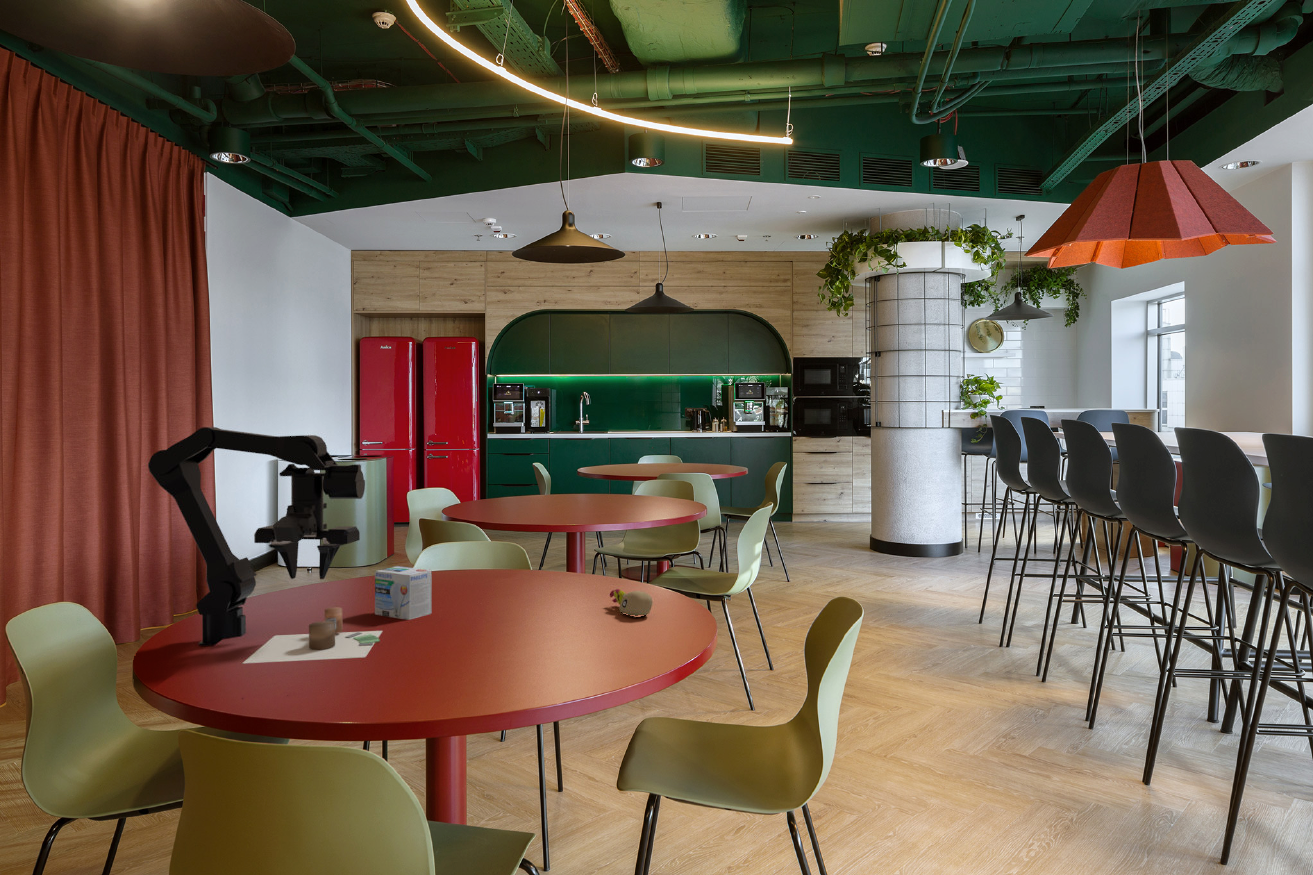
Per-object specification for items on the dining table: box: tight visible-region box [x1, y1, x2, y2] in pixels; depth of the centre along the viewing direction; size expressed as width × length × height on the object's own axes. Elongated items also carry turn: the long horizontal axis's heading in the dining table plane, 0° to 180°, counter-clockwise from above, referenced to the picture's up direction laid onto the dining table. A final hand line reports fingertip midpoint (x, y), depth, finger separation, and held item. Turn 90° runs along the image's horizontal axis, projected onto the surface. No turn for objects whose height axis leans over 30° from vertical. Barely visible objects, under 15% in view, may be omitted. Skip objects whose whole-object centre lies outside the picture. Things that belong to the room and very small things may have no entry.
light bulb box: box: [374, 566, 433, 621], centre depth 167 cm, size 11×7×11 cm, turn 62°
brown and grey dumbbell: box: [308, 606, 343, 649], centre depth 145 cm, size 13×4×5 cm, turn 10°
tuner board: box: [242, 630, 383, 664], centre depth 142 cm, size 21×18×1 cm
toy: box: [609, 588, 654, 616], centre depth 173 cm, size 6×7×15 cm
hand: (307, 578), depth 150 cm, fingers open, 6 cm apart
